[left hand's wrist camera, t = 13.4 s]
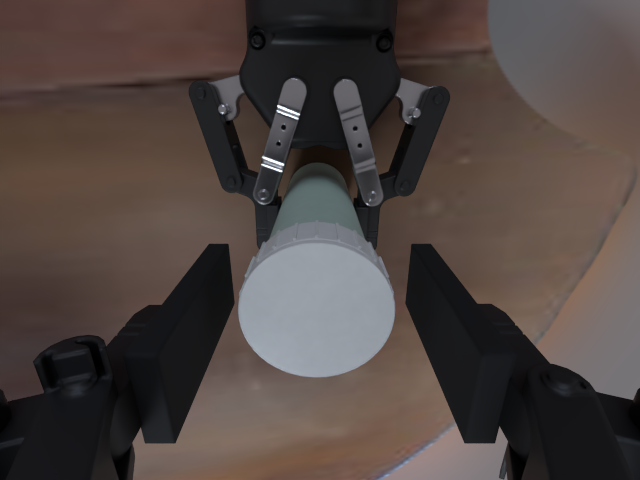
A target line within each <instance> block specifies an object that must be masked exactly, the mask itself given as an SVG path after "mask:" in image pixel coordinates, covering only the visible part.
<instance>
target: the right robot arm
mask: <svg viewBox="0 0 640 480" xmlns="http://www.w3.org/2000/svg"><path fill="white" fill-rule="evenodd" d="M245 1H246V22H247V52H246V56H245V59H244V61H243V63H242V65H241V68H240V72H239V75H235V76H232V77H228V78H225V79H221V80H218V81H214V82H205V81H195V82H193V83H192V84H191V86H190V88H189V96H190V99H191V102H192V104H193V107H194V110H195V113H196V116H197V119H198V121H199V124H200V127H201V130H202V133H203V135H204V138H205V141H206V144H207V147H208V149H209V152H210V155H211V158H212V161H213V164H214V166H215V169H216V172H217V175H218V178H219V180H220V183H221V186H222V188H223V189H224V190H225V191H227V192H229V193H235V192H237V193H240V194H242V195H245V196H247V197H249V198H250V199H251V200H252V201H253V202H254V204H255V212H256V233H257V245H258V248H259V250H260V248H261V245H262V243H263V242H265V243H266V242H267V241H268V240H269V239H270V236H271V233H272V230H273V227H274V225H275V222H276V219H277V216H278V213H279V211H280V208H281V205H282V197H280V196H278V187H279V184H280V181H281V178H282V175H283V172H284V169H285V165H286V163H287V160H288V157H289V154H290V151H291V148H299V149H305V148H309V147H313V146H317V145H321V146H325V147H328V148H331V149H346V150H347V153H348V157H349V160H350V163H351V166H352V169H353V173H354V176H355V180H356V184H357V187H358V195H357V198H354V202H353V206H354V209H355V212H356V215H357V217H358V220H359V223H360V226H361V229H362V232H363V235H364V238H365V240H366V241H367V242H371V243H372V246H373V249H374V250H375V249H376V247H377V235H378V223H379V211H380V207H381V205H382V203H383V202H384V201H386V200H387V199H389V198H392V197H395V196H399V195H400V196H408V195H410V194H412V193H413V191H414V190H415V188H416V185H417V182H418V180H419V177H420V175H421V172H422V170H423V167H424V165H425V162H426V159H427V157H428V154H429V152H430V149H431V147H432V144H433V142H434V139H435V137H436V134H437V131H438V129H439V126H440V124H441V121H442V119H443V116H444V114H445V111H446V108H447V106H448V103H449V100H450V94H449V92H448V90H447V89H446V88H445V87H442V86H432V87H428V86H425V85H422V84H418V83H415V82H412V81H409V80H406V79H403V78H401V74H400V70H399V67H398V65H397V63H396V59H395V55H394V38H395V25H396V13H397V1H398V0H245ZM244 94H246V96H247V97H248V98H249V100H250V101H251V103H252V104H253V105H254V107H255V108H256V109H257V111H258V112H259V114H260V115H261V116H262V118H263V119H264V121H265V122H266V123H267V125H268V126H269V128H270V129H271V130H270V133H269V137H268V140H267V144H266V147H265V150H264V154H263V157H262V163H261V167H260V170H259V173H257V172H254V171H251V170H249V169H248V167H247V163H246V160H245V157H244V154H243V151H242V148H241V145H240V142H239V139H238V135H237V132H236V129H235V126H234V123H233V120H234V119H236V118H237V117H238V116H239V114H240V105H239V103H240V99H241V97H242V96H243V95H244ZM394 97H395V98H396V99H397V100H398V102H399V106H400V108H399V118H400V120H401V121H402V122H404V123H406V124H405V127H404V130H403V132H402V135H401V138H400V141H399V144H398V146H397V149H396V152H395V155H394V158H393V160H392V163H391V166H390V169H389V172H386V173H383V174H380V175H378V172H377V168H376V160H375V156H374V152H373V148H372V144H371V141H370V137H369V133H368V130H369V129H370V128H371V126H372V125H373V124H374V123H375V121H376V120H377V119H378V117H379V116H380V115H381V113H382V112H383V111H384V110H385V108H386V107H387V106H388V104H389V103H390V102H391V100H392V99H393V98H394Z"/></svg>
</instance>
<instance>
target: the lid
mask: <svg viewBox="0 0 640 480" xmlns="http://www.w3.org/2000/svg"><path fill="white" fill-rule="evenodd" d="M244 277H245V280H244V283H243V285H242V288H241V290H240V292H239V296H240V298H239V304H238V315H239V322H240V326H241V329H242V332H243V334H244V336H245V338H246V340H247V342H248V343H249V345H250V346H251V347H252V349H253V350H254V351H255V352H256V353H257V354H258V355H259V356H260V357H261V358H262V359H264V360H265V361H266V362H267V363H269V364H271V365H272V366H274V367H276V368H278V369H280V370H282V371H285V372H288V373H291V374H294V375H299V376H305V377H329V376H334V375H339V374H342V373H346V372H349V371H351V370H353V369H355V368H357V367H359V366H361V365H363V364H364V363H366V362H367V361H368V360H370V359H371V358H372V357H373V356H374V355H375V354H377V353H378V352H379V350H380V349H381V348H382V347H383V345H384V344H385V342H386V341H387V339H388V337H389V335H390V333H391V330H392V327H393V323H394V319H395V301H394V296H393V295H394V291H393V289H392V286H391V284H390V281H389V279H388V277H389V275H388V273H387V270H386V268H385V265H384V263H383V261H382V258H381V256H380V257H378V255H377V253H376V252H375V250H374V249H373V246H372V243H371V242H367V241H366V240H365V239H364V238H362V237H361V236H360V235H358V234H357V231H356V230H354V231H352V230H350V229H348V228H345V227H343V226H340V225H339V223H335V224H333V223H326V222H318V220H315V222H308V223H301V224H298V223H295V225H294V226H291V227H288V228H286V229H284V230H282V231H280V230H278V231H277V233H276V234H275V235H274V236H273V237H271V238H270V239H269V240H268V241H267V242H266V243H265V242H263V243H262V245H261V248H260V250H259V251H258V253H257V255H256V257H254V256H253V258H252V260H251V262H250V265H249V267H248V269H247V272H246V274H245V276H244Z"/></svg>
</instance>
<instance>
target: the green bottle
mask: <svg viewBox="0 0 640 480" xmlns="http://www.w3.org/2000/svg"><path fill="white" fill-rule="evenodd" d="M315 220H318V222H326V223H333V224H335V223H339V225H340V226H343V227H345V228H348V229H350V230H352V231H354V230H356V231H357V234H358V235H360V236H361V237H362V238H364V235H363V232H362V229H361V226H360V223H359V220H358V217H357V215H356V212H355V209H354V206H353V203H352V200H351V197H350V194H349V191H348V188H347V185H346V183H345V180H344V178H343V176H342V175H341V173H340V172H339V171H338V170H337V169H335V168H334V167H332V166H330V165H328V164H325V163H310V164H307V165H305V166H303V167H301V168H300V169H298V170H297V171H296V172H295V174H294V175H293V176H292V178H291V180H290V183H289V185H288V188H287V191H286V194H285V197H284V199H283V202H282V205H281V208H280V211H279V213H278V216H277V219H276V222H275V225H274V227H273V230H272V233H271V236H270V238H271V237H273V236H274V235H275V234H276V233H277V231H278V230H280V231H282V230H284V229H286V228H288V227H291V226H294V225H295V223H298V224H301V223H308V222H315ZM364 239H365V238H364Z"/></svg>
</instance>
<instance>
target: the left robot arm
mask: <svg viewBox="0 0 640 480" xmlns="http://www.w3.org/2000/svg"><path fill="white" fill-rule="evenodd" d="M233 306H234V293H233V284H232V274H231V264H230V255H229V245H228V244H209V245H208V246H207V247H206V249H205V250H204V251H203V253H202V254H201V255H200V257H199V258H198V259H197V260H196V262H195V263H194V264H193V266H192V267H191V268H190V269H189V271H188V272H187V273H186V275H185V276H184V277H183V278H182V280H181V281H180V282H179V284H178V285H177V286H176V287H175V289H174V290H173V291H172V293H171V294H170V295H169V296H168V298H167V299H166V300H165V302H164V303H163V304H162V305H148V306H147V307H145V308H143V309H142V310H140V311H139V312H137V313H136V314H134V315H133V317H132V318H131V319H130V320H129V321H128V322H127V323H126V325H125V327H123V328H122V329H121V330H120V331H119V333H118V335H117V336H115V337H114V338H113V339H112V341H111V342H110V343H109V344H108V345H107V346H106V345H105V342H104V340H103V339H101V338H100V337H99V336H92V335H84V336H76V337H73V338H69V339H66V340H63V341H61V342H58V343H56V344H54V345H52V346H50V347H49V348H47V349H46V350H44V351H43V352H41V353H40V354H39V355H38V356H37V358H36V359H35V360H34V361H33V363H34V366H35V368H36V371H37V374H38V376H39V379H40V382H41V384H42V387H43V390H44V393H43V394H40V395H35V396H31V397H26V398H22V399H17V400H13V401H8V402H7V400H6V397H5V395H4V393H3V391H2V390H1V389H0V480H133V471H134V462H135V453H134V448H133V444H132V442H133V440H134V438H135V437H136V435H137V433H138V431H139V429H140V428H141V429H142V433H143V437H144V441H145V443H176V440H177V438H178V436H179V433H180V431H181V429H182V426H183V424H184V422H185V419H186V417H187V414H188V412H189V410H190V407H191V405H192V403H193V400H194V398H195V396H196V393H197V391H198V388H199V386H200V384H201V381H202V379H203V377H204V374H205V372H206V370H207V367H208V365H209V362H210V360H211V358H212V355H213V353H214V351H215V348H216V346H217V344H218V341H219V339H220V337H221V334H222V332H223V329H224V327H225V325H226V322H227V320H228V318H229V315H230V313H231V311H232V308H233ZM406 306H407V308H408V311H409V313H410V315H411V318H412V320H413V322H414V325H415V327H416V329H417V332H418V334H419V337H420V339H421V341H422V344H423V346H424V348H425V351H426V353H427V355H428V358H429V360H430V362H431V365H432V367H433V370H434V372H435V374H436V377H437V379H438V381H439V384H440V386H441V388H442V391H443V393H444V396H445V398H446V400H447V403H448V405H449V407H450V410H451V412H452V414H453V417H454V419H455V422H456V424H457V426H458V429H459V431H460V433H461V436H462V438H463V440H464V443H495V441H496V437H497V433H498V429H499V426H500V428H501V429H502V431H503V433H504V435H505V437H506V438H507V440H508V444H507V448H506V451H505V455H504V459H503V462H502V466H501V470H500V475H499V478H501V479H504V478H505V474H506V471H507V479H508V480H640V388H639V389H638V390H637V393H636V395H635V397H634V400H630V399H625V398H621V397H616V396H611V395H607V394H603V393H599V392H596V391H595V390H594V389H593V387H592V386H591V384H590V383H589V382H588V381H586V380H585V379H584V378H583V377H581V376H580V375H579V374H577V373H575V372H573V371H571V370H569V369H567V368H564V367H561V366H558V365H555V364H550V363H549V362H548V361H547V359H546V358H545V357H544V356H543V355H542V354H541V353H540V352H539V350H538V349H537V348H536V347H535V346H534V345H533V344H532V342H531V341H530V340H529V339H528V338H527V337H526V336H525V335H523V332H522V331H521V330H520V329H519V328H518V326H515V323H514V322H513V321H512V320H511V318H510V317H509V316H508V315H507V314H506V313H505V312H503V311H502V310H500V309H499V308H497V307H495V306H494V305H492V304H477V303H476V302H475V300H474V299H473V298H472V296H471V295H470V294H469V293H468V291H467V290H466V289H465V287H464V286H463V285H462V284H461V282H460V281H459V280H458V278H457V277H456V276H455V275H454V273H453V272H452V271H451V269H450V268H449V267H448V266H447V264H446V263H445V262H444V260H443V259H442V258H441V257H440V255H439V254H438V253H437V251H436V250H435V249H434V247H433V246H432V245H431V244H412V245H411V255H410V264H409V274H408V284H407V293H406Z"/></svg>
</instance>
